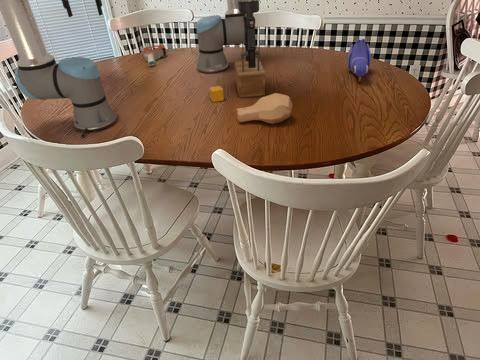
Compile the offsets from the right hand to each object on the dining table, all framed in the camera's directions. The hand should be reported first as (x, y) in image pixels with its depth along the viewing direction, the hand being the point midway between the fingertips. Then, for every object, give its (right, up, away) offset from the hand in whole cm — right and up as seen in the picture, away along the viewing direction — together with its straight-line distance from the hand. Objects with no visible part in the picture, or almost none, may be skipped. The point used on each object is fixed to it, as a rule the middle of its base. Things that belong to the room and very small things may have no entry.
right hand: (250, 64), depth 139 cm
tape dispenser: (-51, +19, +53) cm, 76 cm away
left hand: (-72, +27, +18) cm, 79 cm away
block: (-14, -12, +6) cm, 19 cm away
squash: (+5, -24, -11) cm, 27 cm away
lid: (-1, +1, +7) cm, 8 cm away
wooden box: (0, -6, +13) cm, 14 cm away
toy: (+48, +1, +18) cm, 51 cm away
